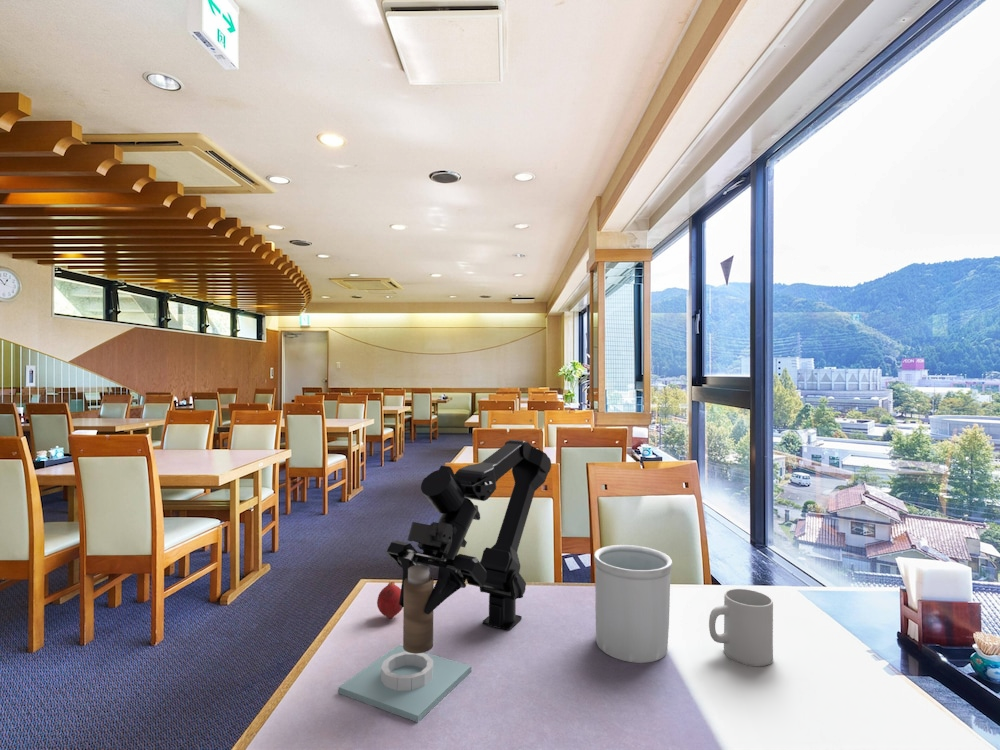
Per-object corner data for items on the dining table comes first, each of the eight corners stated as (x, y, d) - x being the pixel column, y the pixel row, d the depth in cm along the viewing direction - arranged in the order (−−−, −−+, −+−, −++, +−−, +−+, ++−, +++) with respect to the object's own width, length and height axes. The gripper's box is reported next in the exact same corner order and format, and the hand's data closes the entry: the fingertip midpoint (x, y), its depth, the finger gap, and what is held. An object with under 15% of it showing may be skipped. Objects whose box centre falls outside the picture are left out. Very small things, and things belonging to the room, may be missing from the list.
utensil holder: (682, 666, 98) (683, 569, 98) (601, 665, 98) (602, 569, 98) (658, 628, 113) (658, 544, 113) (587, 627, 113) (588, 544, 113)
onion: (398, 625, 113) (398, 587, 113) (372, 622, 114) (372, 585, 114) (408, 613, 118) (408, 577, 119) (383, 611, 120) (384, 575, 120)
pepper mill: (427, 636, 94) (428, 562, 94) (437, 649, 90) (437, 571, 90) (399, 642, 92) (400, 566, 92) (407, 656, 87) (408, 576, 87)
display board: (398, 649, 103) (399, 634, 103) (471, 671, 95) (471, 654, 95) (338, 693, 89) (338, 674, 89) (417, 722, 81) (418, 702, 81)
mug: (755, 642, 107) (755, 587, 107) (783, 665, 99) (783, 605, 99) (698, 646, 106) (698, 590, 106) (721, 669, 97) (722, 608, 97)
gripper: (393, 496, 99) (347, 575, 89) (478, 509, 89) (437, 599, 80) (419, 528, 106) (380, 605, 96) (501, 544, 96) (466, 631, 87)
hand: (413, 609), depth 90 cm, fingers closed on pepper mill, 5 cm apart
